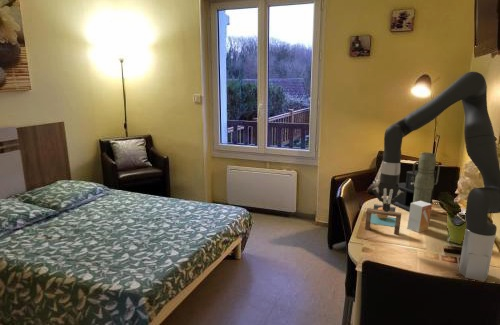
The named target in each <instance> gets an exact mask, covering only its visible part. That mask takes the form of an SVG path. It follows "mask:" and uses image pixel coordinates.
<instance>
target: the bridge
mask: <svg viewBox="0 0 500 325" xmlns="http://www.w3.org/2000/svg"><path fill="white" fill-rule="evenodd" d="M371 214H374V215H376V214H381V215H388V217H393V218H396V222H395V227H394V232H393V234H394V235H396V236H397V235H400V227H401V219H402V212H398V211H395V212H392V211H388V212H384V210H378V209H374V208H371V207H367V209H366V215H365V217H366V218H365V227H364V229H365V230H368V231H369V230H370V228H371V223H370V222H371Z"/></svg>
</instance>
